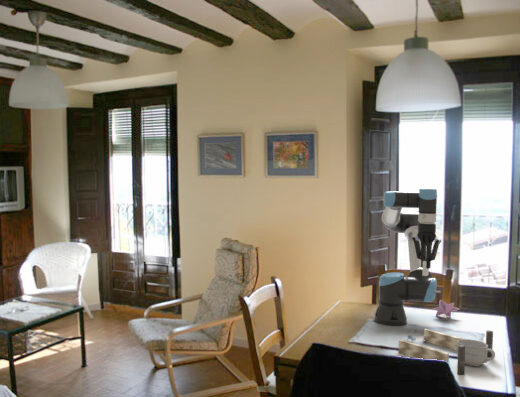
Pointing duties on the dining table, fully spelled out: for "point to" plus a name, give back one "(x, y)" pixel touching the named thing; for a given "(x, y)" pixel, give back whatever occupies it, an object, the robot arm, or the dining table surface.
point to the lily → (445, 308)
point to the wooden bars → (441, 340)
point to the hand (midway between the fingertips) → (425, 275)
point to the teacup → (475, 352)
